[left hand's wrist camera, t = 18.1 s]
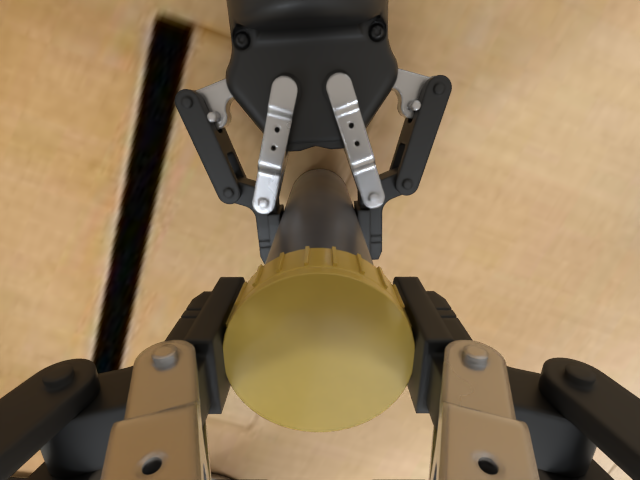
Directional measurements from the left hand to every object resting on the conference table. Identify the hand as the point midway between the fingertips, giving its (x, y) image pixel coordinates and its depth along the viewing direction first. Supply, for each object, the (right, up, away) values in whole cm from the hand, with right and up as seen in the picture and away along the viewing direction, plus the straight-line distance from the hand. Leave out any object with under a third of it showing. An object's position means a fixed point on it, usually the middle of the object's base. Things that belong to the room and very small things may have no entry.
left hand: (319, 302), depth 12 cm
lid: (0, -1, -2) cm, 3 cm away
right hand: (0, +1, +10) cm, 9 cm away
